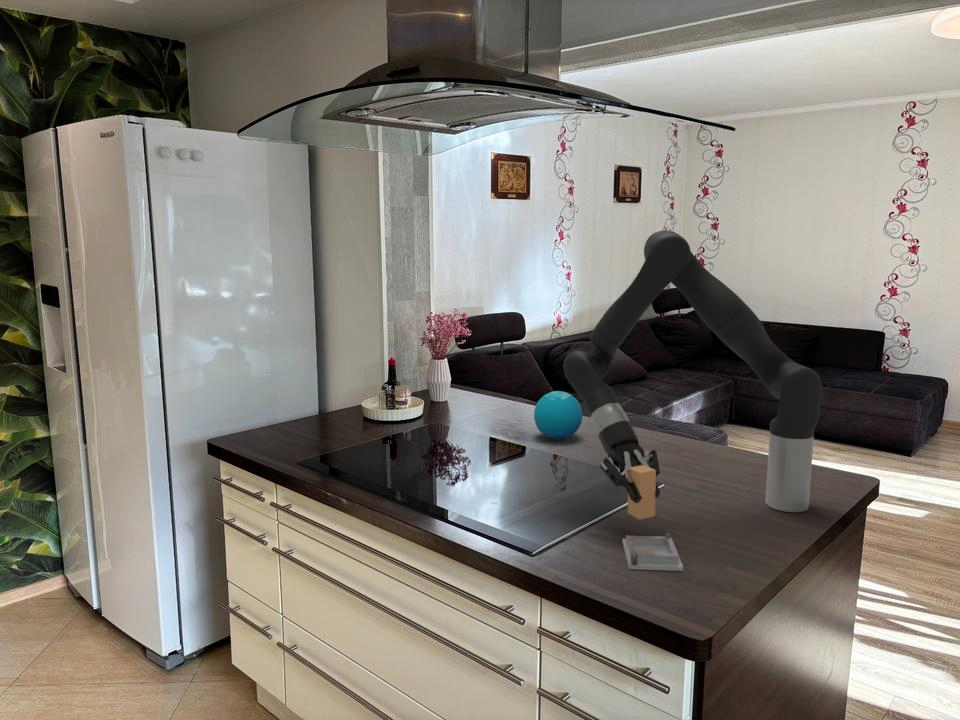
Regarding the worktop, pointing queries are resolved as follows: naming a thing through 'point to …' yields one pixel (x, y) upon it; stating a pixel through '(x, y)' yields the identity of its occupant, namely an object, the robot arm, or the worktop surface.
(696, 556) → the worktop surface
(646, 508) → the tan block
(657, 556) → the plate
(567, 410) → the decorative orb
